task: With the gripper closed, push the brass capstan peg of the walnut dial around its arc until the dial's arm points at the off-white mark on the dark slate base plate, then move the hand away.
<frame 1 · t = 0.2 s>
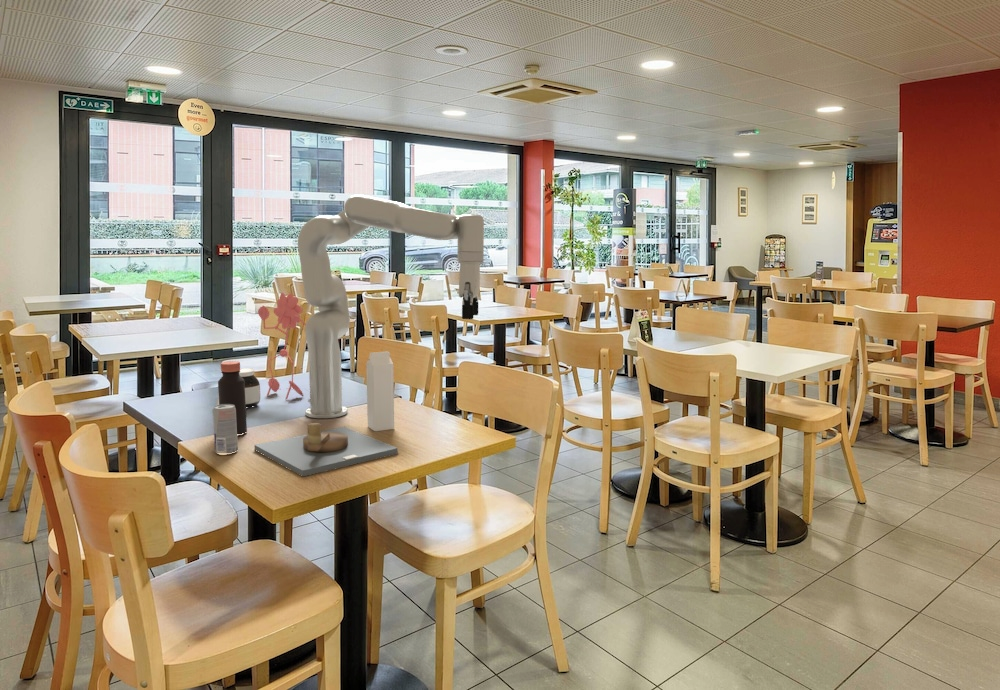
hand: (470, 316, 205), 31 cm above the table, tool pointing down, fingers open, 9 cm apart
milk: (380, 428, 201), on the table
pink flower figure: (292, 394, 241), on the table
dial: (322, 433, 175), point 6 cm above the table, hinge at -45.0°
bottle: (234, 434, 194), on the table
base plate: (325, 452, 179), on the table
spread jar: (237, 407, 224), on the table
energy drink: (226, 453, 178), on the table
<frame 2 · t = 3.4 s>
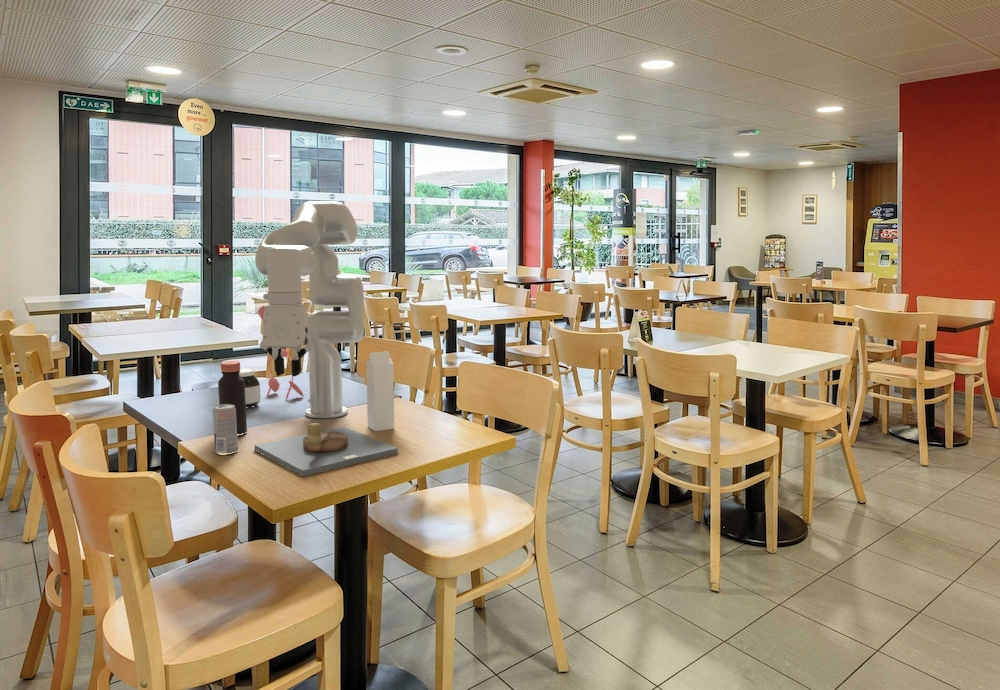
hand: (288, 374, 170), 21 cm above the table, tool pointing down, fingers open, 3 cm apart
nothing on the table moved.
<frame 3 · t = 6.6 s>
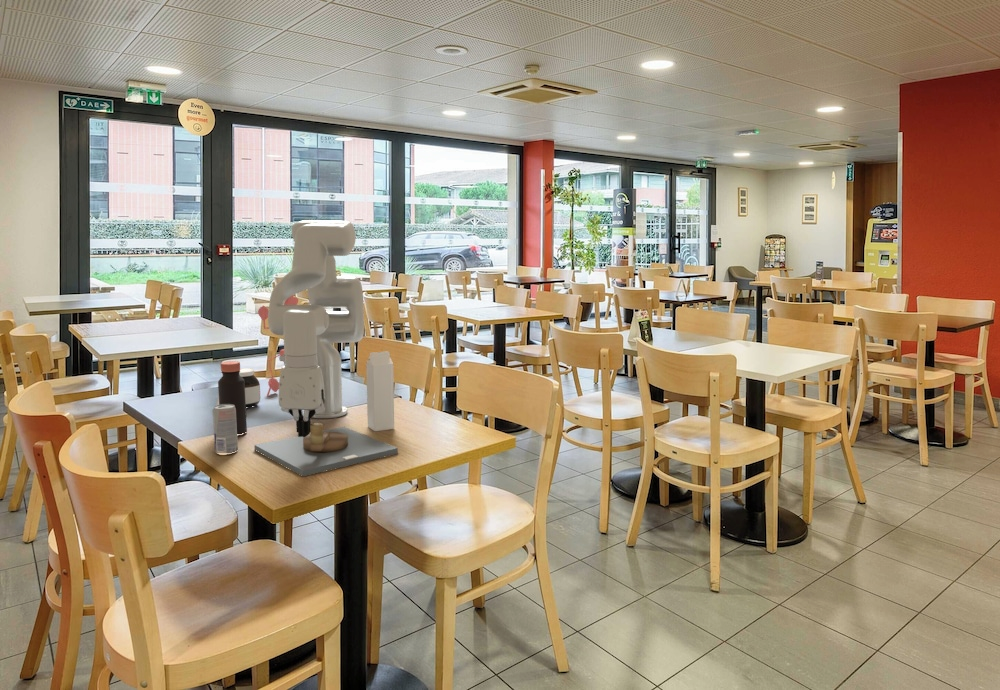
hand: (303, 435, 170), 7 cm above the table, tool pointing down, fingers closed
dial: (323, 433, 175), point 6 cm above the table, hinge at -41.1°, touching gripper
everything else where it was.
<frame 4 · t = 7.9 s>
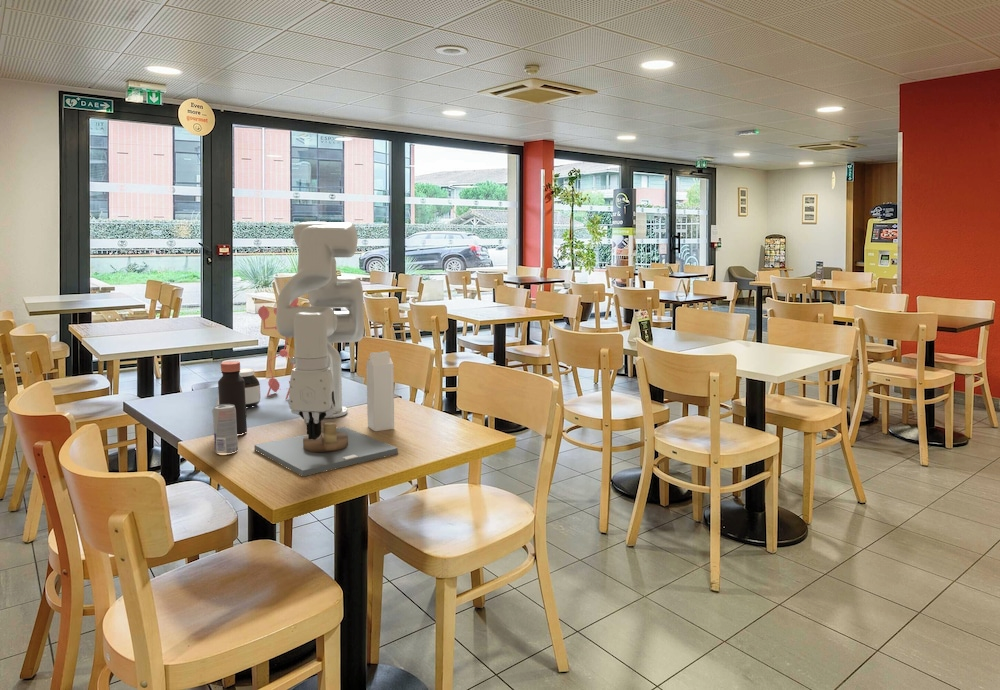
hand: (314, 437, 170), 6 cm above the table, tool pointing down, fingers closed
dial: (326, 433, 175), point 6 cm above the table, hinge at -21.4°, touching gripper
everything else where it was.
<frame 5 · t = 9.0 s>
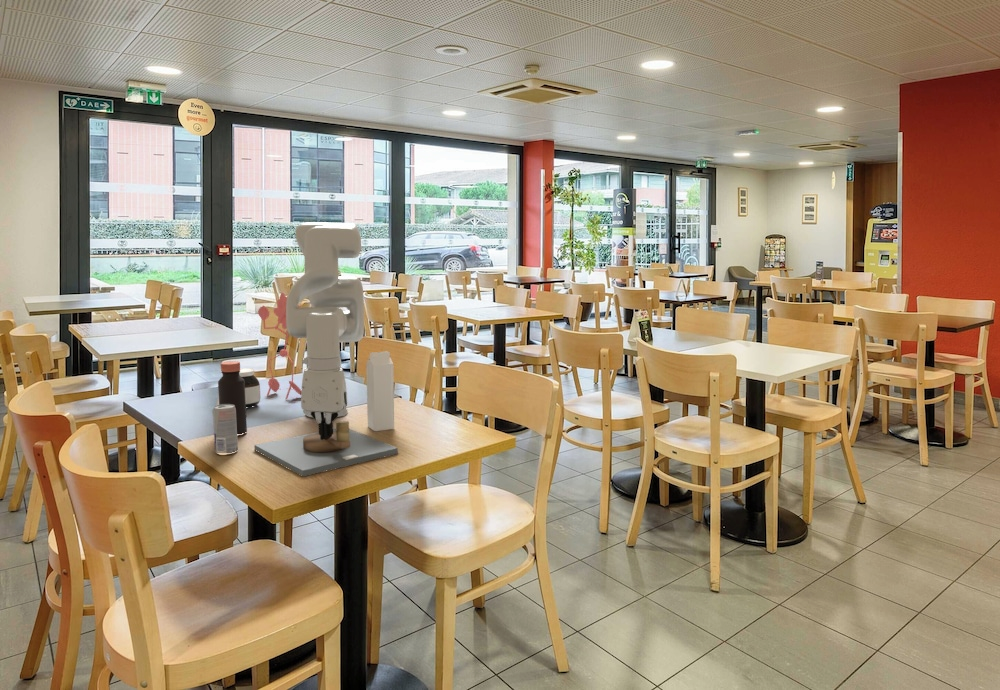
hand: (326, 438, 170), 6 cm above the table, tool pointing down, fingers closed
dial: (330, 432, 176), point 6 cm above the table, hinge at -1.3°, touching gripper
everything else where it was.
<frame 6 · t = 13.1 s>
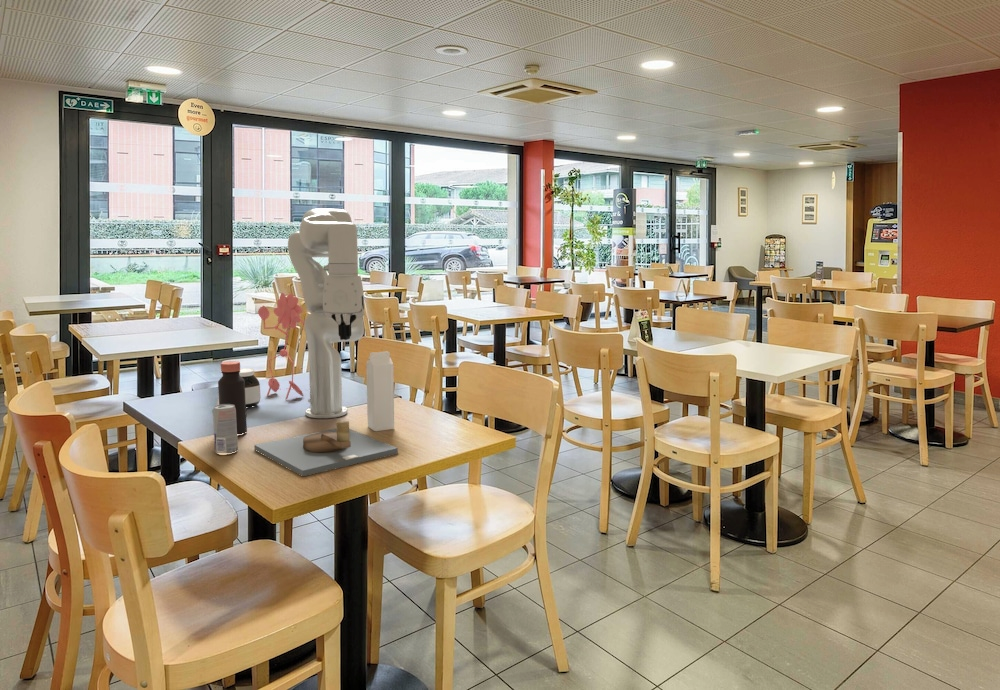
hand: (345, 339, 187), 27 cm above the table, tool pointing down, fingers closed
dial: (330, 432, 176), point 6 cm above the table, hinge at -0.9°
everything else where it was.
at the end: dial at -1° (first picture: -45°) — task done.
